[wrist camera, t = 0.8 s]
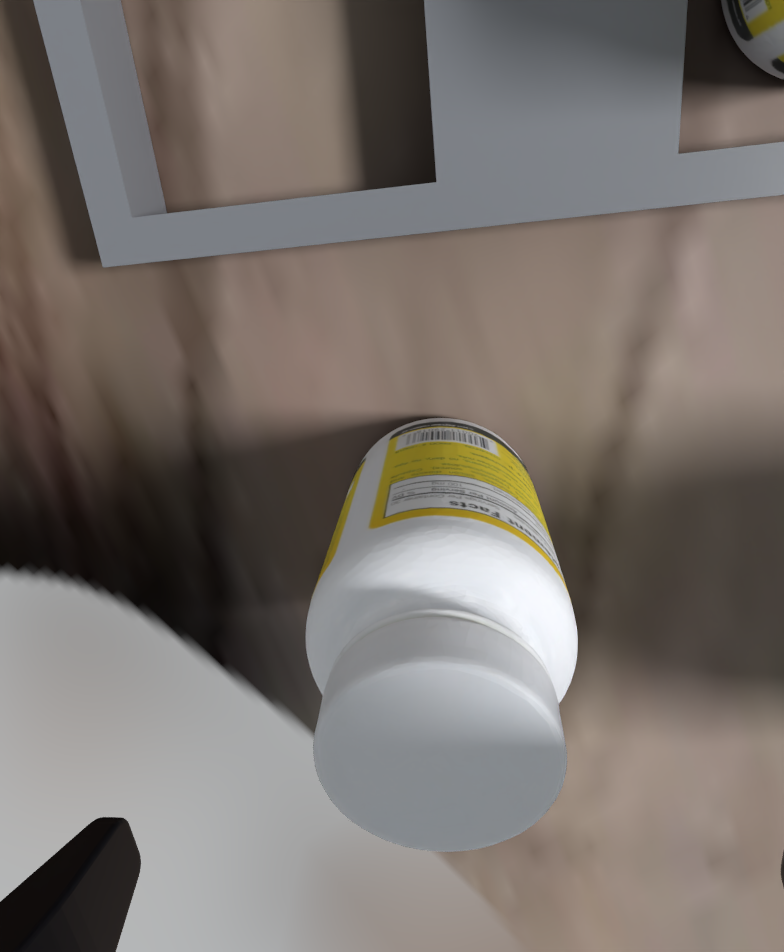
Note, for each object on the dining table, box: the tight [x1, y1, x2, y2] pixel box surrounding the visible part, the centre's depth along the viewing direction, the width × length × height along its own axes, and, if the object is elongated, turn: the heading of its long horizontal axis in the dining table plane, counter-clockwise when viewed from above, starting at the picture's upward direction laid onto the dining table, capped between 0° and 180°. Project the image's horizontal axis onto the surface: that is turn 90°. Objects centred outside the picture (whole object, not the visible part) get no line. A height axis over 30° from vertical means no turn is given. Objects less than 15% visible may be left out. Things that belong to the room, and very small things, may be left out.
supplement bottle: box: [306, 418, 578, 852], centre depth 14 cm, size 5×5×10 cm
